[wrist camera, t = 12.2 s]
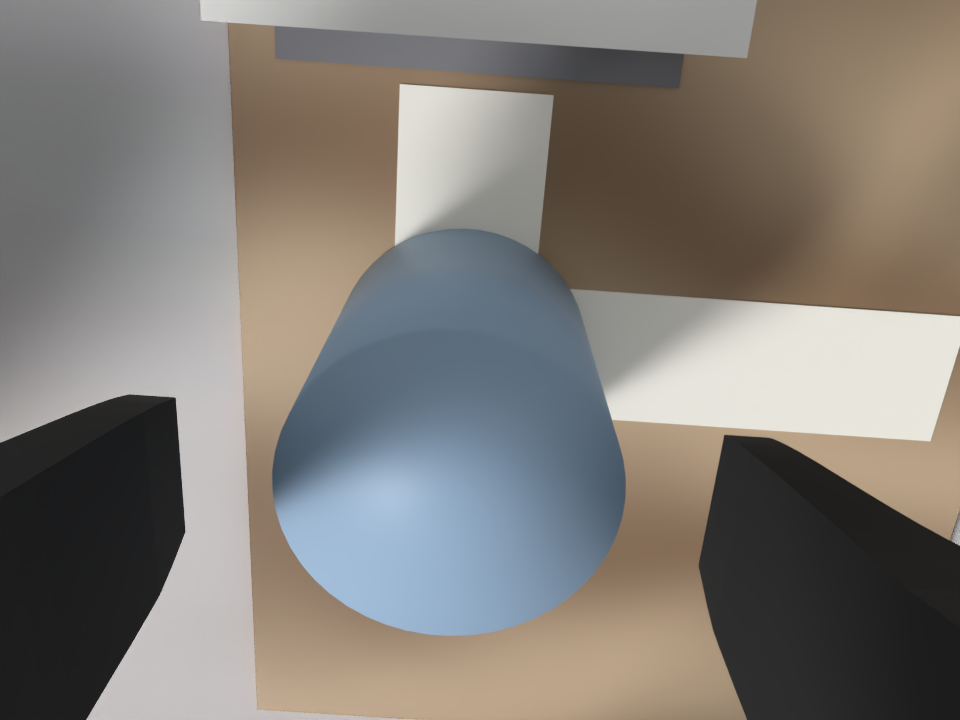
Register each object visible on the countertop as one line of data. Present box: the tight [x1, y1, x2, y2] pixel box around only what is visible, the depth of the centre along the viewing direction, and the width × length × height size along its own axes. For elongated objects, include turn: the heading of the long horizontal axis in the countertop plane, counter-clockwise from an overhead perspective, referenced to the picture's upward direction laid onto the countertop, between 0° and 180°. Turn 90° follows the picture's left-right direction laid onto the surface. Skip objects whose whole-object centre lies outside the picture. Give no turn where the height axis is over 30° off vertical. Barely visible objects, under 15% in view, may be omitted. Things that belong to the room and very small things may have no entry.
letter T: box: [395, 84, 960, 441], centre depth 15 cm, size 9×10×1 cm
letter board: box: [228, 0, 960, 720], centre depth 15 cm, size 23×14×1 cm, turn 176°
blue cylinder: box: [272, 229, 626, 636], centre depth 13 cm, size 4×4×5 cm
